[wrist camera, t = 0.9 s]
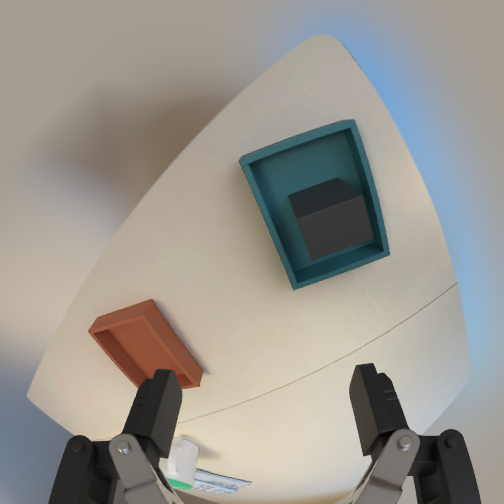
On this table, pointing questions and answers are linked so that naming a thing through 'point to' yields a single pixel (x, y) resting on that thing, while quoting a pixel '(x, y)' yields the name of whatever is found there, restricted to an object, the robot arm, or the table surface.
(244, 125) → the table surface
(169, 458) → the mug
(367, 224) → the block
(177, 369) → the terracotta bin
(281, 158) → the teal bin
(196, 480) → the light blue folded towel
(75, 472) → the robot arm
